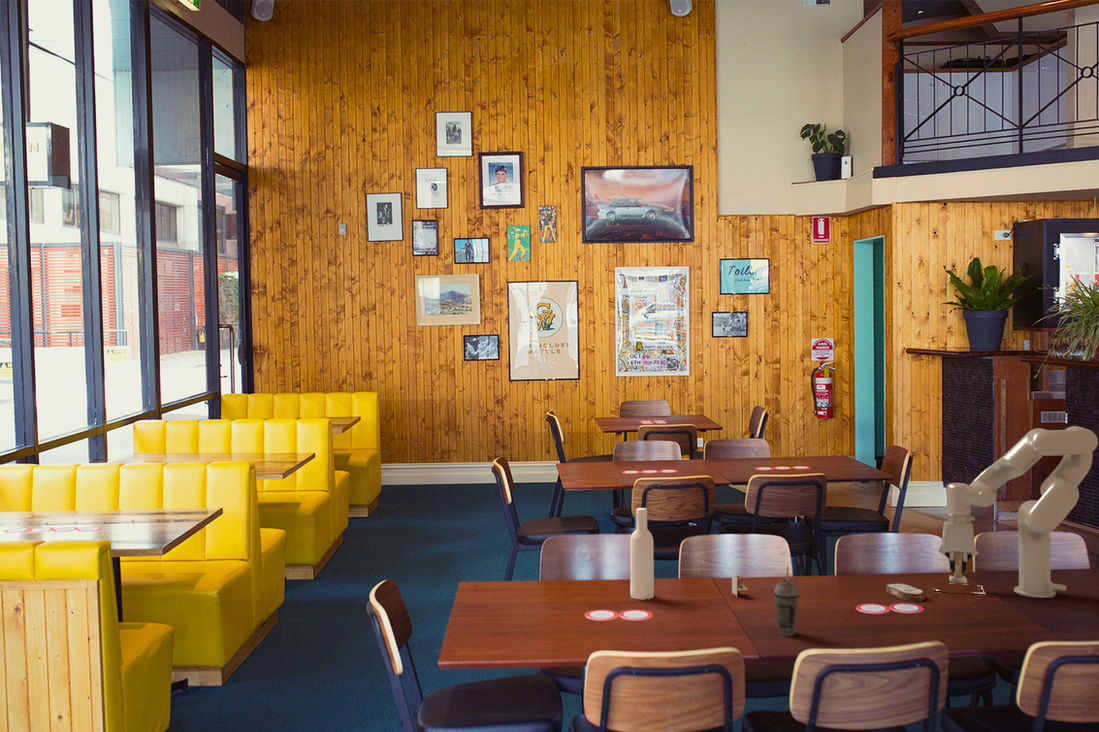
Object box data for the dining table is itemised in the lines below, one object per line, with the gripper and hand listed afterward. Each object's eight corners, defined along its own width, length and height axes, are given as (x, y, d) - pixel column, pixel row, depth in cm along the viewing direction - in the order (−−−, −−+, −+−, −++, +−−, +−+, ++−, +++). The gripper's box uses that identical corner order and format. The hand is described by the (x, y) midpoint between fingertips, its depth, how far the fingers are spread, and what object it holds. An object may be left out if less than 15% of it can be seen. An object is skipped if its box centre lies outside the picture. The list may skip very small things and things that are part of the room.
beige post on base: (964, 580, 327) (964, 547, 328) (967, 583, 319) (966, 550, 320) (949, 579, 328) (949, 546, 329) (951, 582, 321) (951, 549, 322)
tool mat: (981, 587, 327) (981, 585, 327) (985, 595, 316) (985, 594, 316) (932, 583, 333) (932, 582, 333) (934, 592, 321) (934, 590, 321)
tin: (900, 589, 325) (880, 592, 323) (900, 580, 325) (879, 583, 323) (930, 600, 311) (908, 604, 308) (929, 590, 311) (908, 594, 308)
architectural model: (741, 594, 322) (741, 572, 321) (747, 599, 315) (747, 577, 315) (731, 594, 321) (731, 573, 321) (737, 600, 314) (737, 578, 314)
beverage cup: (795, 629, 279) (795, 562, 279) (802, 637, 272) (802, 568, 271) (771, 629, 279) (770, 563, 278) (777, 637, 271) (777, 568, 271)
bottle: (645, 601, 311) (645, 511, 311) (625, 597, 316) (625, 509, 316) (658, 596, 318) (657, 508, 317) (638, 592, 323) (638, 506, 322)
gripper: (982, 518, 325) (982, 571, 325) (932, 515, 330) (932, 567, 330) (985, 522, 318) (984, 576, 318) (934, 519, 323) (933, 572, 323)
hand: (958, 571), depth 324 cm, fingers closed on beige post on base
